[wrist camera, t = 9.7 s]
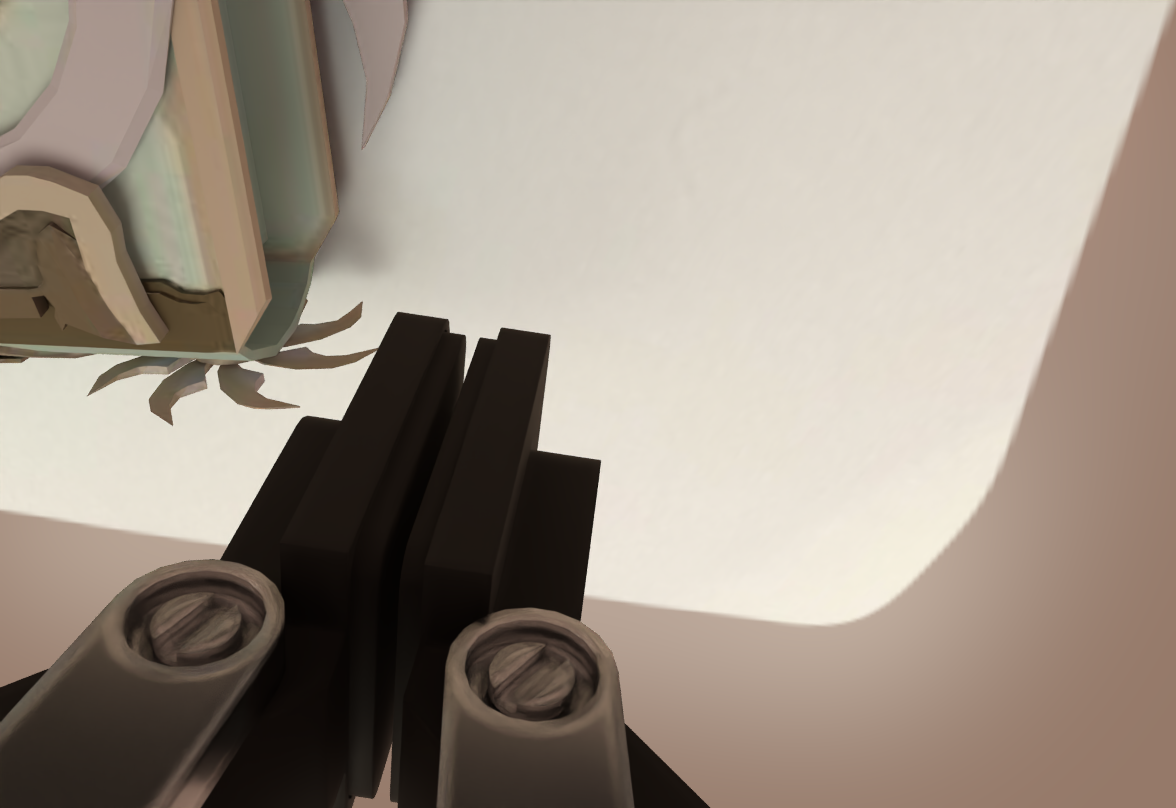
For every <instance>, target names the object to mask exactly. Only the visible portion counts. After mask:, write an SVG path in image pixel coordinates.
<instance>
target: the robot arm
mask: <svg viewBox="0 0 1176 808" xmlns="http://www.w3.org/2000/svg"><path fill="white" fill-rule="evenodd" d="M550 339H551V335H548V334H541V333H535V332H528V331H521V330H515V329H508V328H501V329H500V332H499V335H498V338H497V340H494V339H487V338H480V339H479V341H478V344H477V347H476V349H475V352H474V355H473V358H472V361H471V364H470V366H469V369H468V372H467V375H466V378H465V381H464V383H463V380H464V366H465V353H466V336H465V335H461V334H454V333H450V328H449V321H448V319H442V318H436V317H429V316H423V315H416V314H409V313H403V312H397V314H396V315H395V317H394V319H393V321H392V323H391V324H390V326H389V328H388V330H387V332H386V334H385V336H384V338H383V340H382V342H381V344H380V346H379V348H378V350H377V352H376V354H375V356H374V358H373V360H372V362H371V364H370V366H369V368H368V370H367V372H366V374H365V376H364V378H363V380H362V382H361V383H360V385H359V387H358V389H357V391H356V393H355V395H354V397H353V399H352V401H351V403H350V405H349V407H348V409H347V411H346V413H345V415H344V417H343V419H342V421H339V420H333V419H326V418H319V417H313V416H306V417H303V418H302V419H301V420H300V422H299V423H298V424H297V426H296V427H295V429H294V431H293V433H292V434H291V436H290V438H289V440H288V441H287V443H286V445H285V447H284V448H283V450H282V452H281V454H280V455H279V457H278V459H277V461H276V462H275V464H274V466H273V468H272V469H271V471H270V473H269V475H268V477H267V478H266V480H265V482H264V484H263V485H262V487H261V489H260V491H259V492H258V494H257V496H256V498H255V499H254V501H253V503H252V505H251V506H250V508H249V510H248V512H247V513H246V515H245V517H244V519H243V520H242V522H241V524H240V526H239V527H238V529H237V531H236V533H235V534H234V536H233V538H232V540H231V542H230V543H229V545H228V547H227V549H226V550H225V552H224V554H223V556H222V558H221V559H220V560H215V559H210V560H193V561H184V562H180V563H176V564H172V565H168V566H164V567H160V568H158V569H156V570H154V571H152V572H150V573H148V574H146V575H144V576H142V577H140V578H137V579H136V580H134V581H133V582H132V583H131V584H129V585H128V586H127V587H126V588H125V589H123V590H122V591H121V592H120V593H119V594H117V595H116V596H115V598H114V599H113V600H112V601H111V602H110V603H109V604H108V605H107V606H106V607H105V608H104V609H103V611H102V612H101V613H100V614H99V615H98V616H97V617H96V618H95V619H94V621H92V623H91V624H90V625H89V626H88V627H87V628H86V629H85V630H84V631H83V632H82V634H81V635H80V636H79V637H78V638H77V639H76V640H75V641H74V642H73V643H72V645H71V646H70V647H69V648H68V649H67V650H66V651H65V652H64V653H63V654H62V655H61V656H60V658H59V659H58V660H57V661H56V662H55V663H54V664H53V665H52V666H51V667H50V668H49V669H47V670H44V671H42V672H39V673H36V674H34V675H31V676H29V677H26V678H23V679H21V680H18V681H16V682H13V683H11V684H8V685H6V686H3V687H0V808H352V806H353V802H354V799H355V796H358V797H365V798H371V799H373V798H374V797H375V795H376V793H377V790H378V787H379V784H380V780H381V777H382V774H383V770H384V767H385V764H386V761H387V757H388V754H389V750H390V747H391V744H392V761H391V784H390V800H391V801H392V802H397V803H398V808H710V807H709V806H708V805H707V804H706V803H705V802H704V801H703V800H702V799H701V798H700V797H699V796H698V795H697V794H696V793H695V792H694V791H693V790H692V789H691V788H690V787H689V786H688V785H687V784H686V783H685V782H684V781H683V780H682V779H681V778H680V777H679V776H678V775H677V774H676V773H675V772H674V771H673V770H672V769H671V768H670V767H669V766H668V765H667V764H666V763H665V762H663V760H661V758H659V757H658V756H657V755H656V754H655V753H654V752H653V751H652V750H651V749H650V748H649V747H648V746H647V745H646V744H645V743H644V742H643V741H642V740H641V739H640V738H639V737H638V736H637V735H636V734H635V733H634V732H633V731H632V730H631V729H630V728H629V727H628V726H627V725H626V724H625V723H624V715H623V707H622V698H621V690H620V682H619V672H618V669H617V666H616V663H615V660H614V656H613V653H612V651H611V650H610V649H609V648H608V646H607V645H606V644H605V642H604V641H603V640H602V638H601V637H600V636H599V635H598V634H597V633H595V632H594V631H593V630H591V629H590V628H589V627H587V626H586V625H584V624H583V623H582V622H580V621H581V613H582V605H583V598H584V590H585V582H586V575H587V567H588V559H589V551H590V544H591V536H592V528H593V520H594V513H595V505H596V497H597V489H598V482H599V474H600V466H601V460H596V459H589V458H582V457H576V456H569V455H563V454H556V453H550V452H543V451H537V448H538V440H539V432H540V424H541V415H542V407H543V399H544V391H545V383H546V375H547V367H548V358H549V350H550Z"/></svg>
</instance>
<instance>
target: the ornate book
mask: <svg viewBox="0 0 1176 808" xmlns="http://www.w3.org/2000/svg"><path fill="white" fill-rule="evenodd" d="M343 2H344V4H345V7H346V9H347V11H348V14H349V16H350V18H351V21H352V23H353V26H354V30H355V34H356V39H357V43H358V47H359V51H360V55H361V59H362V63H363V67H364V72H365V76H366V80H367V85H366V99H365V112H364V125H363V138H362V149H363V148H364V147H365V146H366V144H367V142H368V140H369V138H370V136H371V134H372V132H373V130H374V128H375V126H376V124H377V122H378V120H379V118H380V116H381V114H382V112H383V110H384V108H385V106H386V104H387V102H388V100H389V98H390V96H391V92H392V88H393V84H394V79H395V75H396V71H397V66H398V62H399V58H400V54H401V49H402V45H403V41H404V36H405V32H406V28H407V23H408V9H407V0H343ZM338 213H339V207H338V200H337V193H336V186H335V178H334V171H333V164H332V157H331V150H330V143H329V135H328V128H327V121H326V114H325V107H324V100H323V92H322V85H321V78H320V71H319V64H318V57H317V49H316V42H315V35H314V28H313V21H312V14H311V6H310V0H0V363H22V362H23V361H25V360H26V359H28V358H29V357H38V358H79V357H84V356H89V355H94V354H112V355H134V356H141V357H138V358H135V359H132V360H129V361H126V362H123V363H120V364H117V365H115V366H114V367H112V368H111V369H109V370H108V371H106V372H105V373H103V374H102V375H100V376H99V378H98V379H97V381H96V383H95V384H94V386H93V387H92V389H91V391H90V392H89V394H88V395H87V396H89V395H90V394H92V393H94V392H96V391H98V390H100V389H102V388H104V387H106V386H107V385H109V384H111V383H113V382H115V381H117V380H120V379H124V378H128V377H132V376H136V375H139V374H170V373H171V372H173V371H175V370H177V369H178V368H180V367H182V366H184V365H185V364H187V363H188V364H187V365H185V366H184V367H182V368H181V369H179V370H178V371H176V372H175V373H173V374H172V375H170V376H169V377H167V378H166V379H164V380H163V381H162V383H161V384H160V385H159V386H158V388H157V389H156V390H155V392H154V393H153V394H152V396H151V397H150V398H149V404H150V409H151V412H153V413H154V414H156V415H157V416H159V417H160V418H162V419H163V420H165V421H166V422H168V423H169V424H171V425H172V426H173V421H172V415H171V408H172V406H173V405H174V404H175V403H176V402H177V401H178V399H179V398H181V397H184V396H187V395H189V394H192V393H195V392H198V391H201V390H204V389H207V383H206V377H205V374H206V373H207V372H208V371H209V370H210V368H211V367H212V366H213V365H220V367H219V369H218V378H219V383H220V389H221V390H222V391H223V392H224V393H226V394H227V395H228V396H229V397H230V398H231V399H232V400H234V401H235V402H236V403H237V404H240V405H243V406H246V407H250V408H254V409H286V408H300V406H296V405H292V404H288V403H284V402H280V401H275V400H271V399H267V398H265V397H264V396H262V395H261V394H259V393H258V392H257V391H258V389H259V388H260V387H261V385H262V384H263V383H264V381H265V380H264V375H263V373H259V372H255V371H251V370H246V369H242V368H241V367H240V366H239V365H238V364H239V363H244V362H248V361H257V362H259V363H261V364H264V365H270V366H276V367H283V368H290V369H326V368H335V367H339V366H343V365H346V364H350V363H354V362H357V361H358V360H360V359H362V358H364V357H366V356H368V355H369V354H371V353H373V352H375V351H377V350H378V348H376V349H371V350H367V351H363V352H358V353H354V354H350V355H342V356H324V355H320V354H316V353H313V352H312V351H310V350H309V349H308V348H306V347H303V348H298V349H292V350H287V351H281V352H279V351H280V350H281V349H282V347H288V346H292V345H297V344H302V343H306V342H311V341H315V340H320V339H323V338H326V337H328V336H331V335H333V334H335V333H338V332H340V331H343V330H345V329H347V328H350V327H351V326H352V325H353V324H354V323H356V322H357V321H358V320H359V319H360V318H361V313H362V303H363V301H362V302H361V303H360V304H359V305H357V306H356V307H355V308H354V309H353V310H351V311H350V312H349V313H347V314H346V315H344V316H343V317H342V318H340V319H339V320H337V321H332V322H326V323H320V324H300V325H298V323H299V320H300V316H301V314H302V312H303V310H304V308H305V306H306V304H307V302H308V300H307V299H306V297H307V294H308V291H309V288H310V285H311V280H312V273H313V265H314V258H315V255H316V254H317V252H318V250H319V248H320V246H321V245H322V243H323V241H324V239H325V237H326V236H327V234H328V232H329V231H330V229H331V227H332V226H333V224H334V222H335V220H336V218H337V216H338ZM195 359H196V360H195ZM192 360H195V361H192ZM191 361H192V362H191ZM189 362H190V363H189Z"/></svg>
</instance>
